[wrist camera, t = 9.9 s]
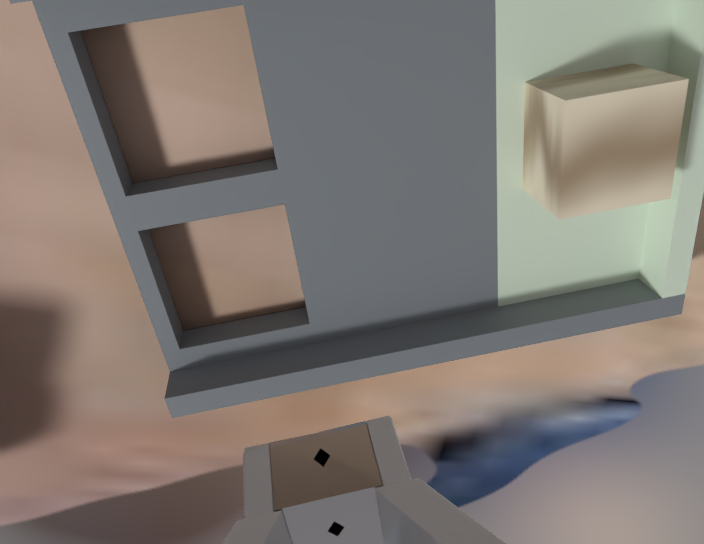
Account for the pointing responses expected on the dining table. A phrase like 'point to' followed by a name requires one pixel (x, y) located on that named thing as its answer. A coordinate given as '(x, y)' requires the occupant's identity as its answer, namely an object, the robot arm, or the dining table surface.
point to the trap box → (403, 185)
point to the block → (602, 138)
